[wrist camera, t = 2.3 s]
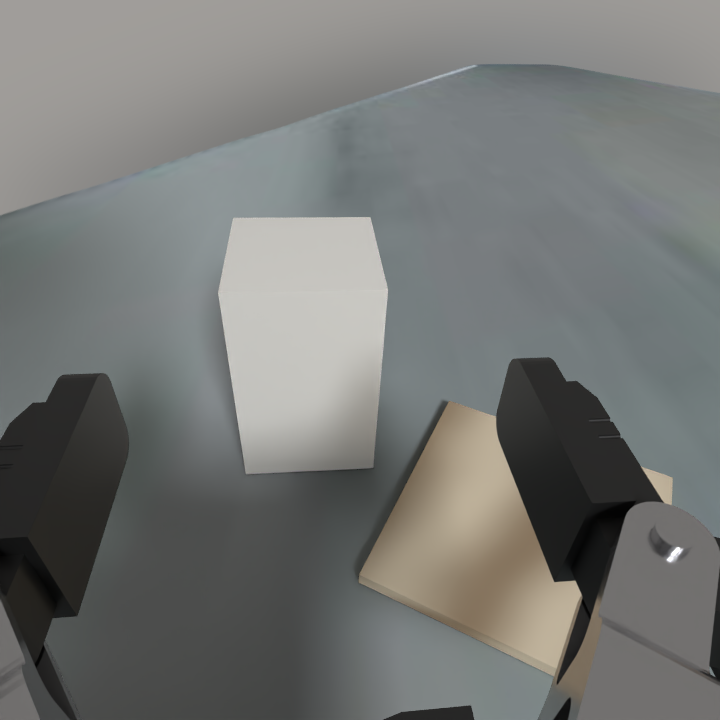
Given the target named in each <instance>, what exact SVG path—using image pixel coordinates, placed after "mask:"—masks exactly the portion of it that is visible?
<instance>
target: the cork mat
mask: <svg viewBox="0 0 720 720" xmlns="http://www.w3.org/2000/svg"><path fill="white" fill-rule="evenodd" d="M642 469H643V471H644V472H645V474H646V475H647V477H648V478H649V480H650V482H651V483H652V485H653V486H654V488H655V489H656V491H657V493H658V494H659V496H660V497H661V499H662V500H663V502H664V503H666V504H670V505H672V480H673V478H672V477H669V476H666V475H663V474H661V473H658V472H655V471H652V470H649V469H646V468H643V467H642ZM359 583H361V584H363V585H365V586H367V587H369V588H371V589H373V590H375V591H377V592H379V593H381V594H384V595H386V596H388V597H390V598H392V599H394V600H396V601H398V602H400V603H402V604H404V605H406V606H408V607H411V608H413V609H415V610H417V611H419V612H421V613H423V614H425V615H427V616H429V617H431V618H433V619H436V620H438V621H440V622H442V623H444V624H446V625H448V626H450V627H452V628H454V629H456V630H458V631H460V632H463V633H465V634H467V635H469V636H471V637H473V638H475V639H477V640H479V641H481V642H483V643H485V644H487V645H490V646H492V647H494V648H496V649H498V650H500V651H502V652H504V653H506V654H508V655H510V656H512V657H515V658H517V659H519V660H521V661H523V662H525V663H527V664H529V665H531V666H533V667H535V668H537V669H539V670H542V671H544V672H546V673H548V674H550V675H552V676H554V675H555V672H556V669H557V666H558V663H559V660H560V656H561V653H562V650H563V647H564V644H565V641H566V638H567V634H568V631H569V628H570V625H571V622H572V619H573V615H574V612H575V609H576V606H577V603H578V601H579V598H580V597H581V592H580V590H579V588H578V585H577V583H576V581H564V582H554V580H553V578H552V575H551V573H550V570H549V568H548V565H547V563H546V560H545V557H544V555H543V552H542V550H541V547H540V545H539V542H538V540H537V537H536V534H535V532H534V529H533V527H532V524H531V522H530V519H529V517H528V514H527V511H526V509H525V506H524V504H523V501H522V499H521V496H520V494H519V491H518V488H517V486H516V483H515V481H514V478H513V476H512V473H511V471H510V468H509V465H508V463H507V460H506V458H505V455H504V453H503V450H502V448H501V445H500V442H499V439H498V435H497V429H496V417H495V416H492V415H489V414H486V413H483V412H480V411H477V410H474V409H472V408H469V407H466V406H463V405H460V404H457V403H454V402H451V401H449V402H448V404H447V406H446V408H445V410H444V412H443V414H442V416H441V418H440V420H439V421H438V423H437V425H436V427H435V429H434V431H433V433H432V435H431V437H430V439H429V441H428V443H427V445H426V447H425V449H424V450H423V452H422V454H421V456H420V458H419V460H418V462H417V464H416V466H415V468H414V470H413V472H412V474H411V476H410V477H409V479H408V481H407V483H406V485H405V487H404V489H403V491H402V493H401V495H400V497H399V499H398V501H397V503H396V505H395V506H394V508H393V510H392V512H391V514H390V516H389V518H388V520H387V522H386V524H385V526H384V528H383V530H382V532H381V533H380V535H379V537H378V539H377V541H376V543H375V545H374V547H373V549H372V551H371V553H370V555H369V557H368V559H367V561H366V562H365V564H364V566H363V568H362V570H361V572H360V574H359Z"/></svg>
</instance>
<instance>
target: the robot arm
mask: <svg viewBox="0 0 720 720" xmlns="http://www.w3.org/2000/svg"><path fill="white" fill-rule="evenodd" d="M496 429H497V435H498V439H499V442H500V445H501V448H502V450H503V453H504V455H505V458H506V460H507V463H508V465H509V468H510V471H511V473H512V476H513V478H514V481H515V483H516V486H517V488H518V491H519V494H520V496H521V499H522V501H523V504H524V506H525V509H526V511H527V514H528V517H529V519H530V522H531V524H532V527H533V529H534V532H535V534H536V537H537V540H538V542H539V545H540V547H541V550H542V552H543V555H544V557H545V560H546V563H547V565H548V568H549V570H550V573H551V575H552V578H553V580H554V582H564V581H576V583H577V585H578V588H579V590H580V592H581V597H580V598H579V601H578V603H577V606H576V609H575V612H574V615H573V619H572V622H571V625H570V628H569V631H568V634H567V638H566V641H565V644H564V647H563V650H562V653H561V656H560V660H559V663H558V666H557V669H556V672H555V675H554V679H553V682H552V685H551V688H550V691H549V694H548V696H547V699H546V701H545V704H544V706H543V708H542V710H541V713H540V715H539V717H538V720H720V538H717V537H713V535H712V534H711V533H710V531H709V530H708V529H707V528H706V527H705V526H704V525H703V524H702V523H701V522H700V521H699V520H698V519H696V518H695V517H694V516H692V515H691V514H689V513H687V512H686V511H684V510H682V509H680V508H678V507H675V506H672V505H670V504H666V503H664V502H663V500H662V499H661V497H660V496H659V494H658V493H657V491H656V489H655V488H654V486H653V485H652V483H651V482H650V480H649V478H648V477H647V475H646V474H645V472H644V471H643V469H642V467H641V466H640V464H639V463H638V461H637V460H636V458H635V456H634V455H633V453H632V452H631V450H630V448H629V447H628V445H627V444H626V442H625V441H624V439H623V438H620V433H619V431H618V430H617V428H616V426H615V425H614V423H613V422H610V417H609V415H608V414H607V412H606V411H605V409H604V408H603V406H602V404H601V403H600V401H599V400H598V398H597V397H596V396H594V395H593V394H592V393H591V392H589V391H588V390H587V389H586V388H585V387H583V386H582V385H581V384H580V383H578V382H577V381H568V382H566V380H565V378H564V377H563V375H562V373H561V372H560V370H559V368H558V367H557V365H556V363H555V362H554V360H553V359H551V358H548V357H547V358H521V359H513V360H512V361H511V362H510V364H509V367H508V370H507V374H506V378H505V382H504V386H503V390H502V394H501V398H500V402H499V406H498V409H497V415H496ZM128 449H129V438H128V431H127V427H126V424H125V421H124V418H123V416H122V413H121V410H120V407H119V404H118V401H117V398H116V395H115V393H114V390H113V387H112V384H111V381H110V379H109V377H108V376H107V375H106V374H104V373H97V374H71V375H62V376H60V377H59V378H58V380H57V382H56V384H55V385H54V387H53V389H52V391H51V393H50V395H49V397H48V399H47V401H46V402H42V403H32V404H31V405H30V406H29V407H28V408H27V409H26V410H24V411H23V412H22V413H21V414H20V415H19V416H18V417H16V418H15V419H14V420H13V421H12V422H11V423H10V424H9V426H8V428H7V429H6V431H5V433H4V435H3V436H2V438H1V440H0V720H82V719H81V717H80V715H79V713H78V710H77V708H76V706H75V704H74V702H73V699H72V697H71V695H70V693H69V691H68V688H67V686H66V684H65V682H64V680H63V677H62V675H61V673H60V671H59V668H58V666H57V664H56V662H55V660H54V657H53V655H52V653H51V651H50V649H49V646H48V644H47V643H46V641H45V638H46V635H47V632H48V629H49V627H50V624H51V621H52V618H60V617H73V616H77V615H78V612H79V609H80V606H81V603H82V600H83V596H84V593H85V590H86V587H87V584H88V581H89V577H90V574H91V571H92V568H93V565H94V562H95V558H96V555H97V552H98V549H99V546H100V543H101V539H102V536H103V533H104V530H105V527H106V524H107V521H108V517H109V514H110V511H111V508H112V505H113V502H114V498H115V495H116V492H117V489H118V486H119V483H120V479H121V476H122V473H123V470H124V467H125V464H126V460H127V456H128ZM709 666H710V667H711V669H712V671H713V673H714V675H715V677H714V676H712V675H710V671H709ZM384 720H474V717H473V712H472V708H471V706H461V707H450V708H439V709H429V710H418V711H408V712H401V713H398V714H396V715H394V716H391V717H389V718H386V719H384Z"/></svg>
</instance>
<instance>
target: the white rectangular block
mask: <svg viewBox="0 0 720 720" xmlns="http://www.w3.org/2000/svg"><path fill="white" fill-rule="evenodd" d="M218 295H219V302H220V308H221V315H222V321H223V328H224V334H225V341H226V348H227V354H228V361H229V367H230V374H231V380H232V387H233V393H234V400H235V407H236V413H237V420H238V426H239V433H240V439H241V446H242V452H243V459H244V466H245V472H246V474H261V473H282V472H303V471H324V470H344V469H365V468H373V464H374V452H375V440H376V428H377V415H378V403H379V391H380V379H381V367H382V355H383V343H384V331H385V319H386V307H387V295H388V288H387V284H386V280H385V276H384V272H383V268H382V263H381V259H380V255H379V251H378V247H377V243H376V239H375V235H374V230H373V226H372V222H371V218H370V217H342V218H233V222H232V227H231V232H230V237H229V242H228V247H227V252H226V257H225V261H224V266H223V271H222V276H221V281H220V286H219V291H218Z"/></svg>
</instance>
